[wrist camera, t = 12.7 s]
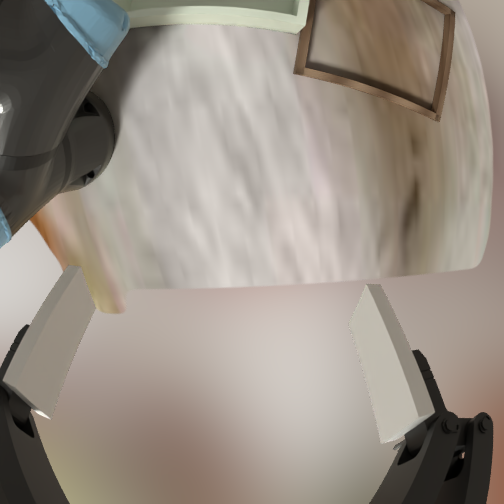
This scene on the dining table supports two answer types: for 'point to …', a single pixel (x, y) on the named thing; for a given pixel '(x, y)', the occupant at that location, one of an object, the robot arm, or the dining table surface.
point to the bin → (219, 13)
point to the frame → (437, 100)
